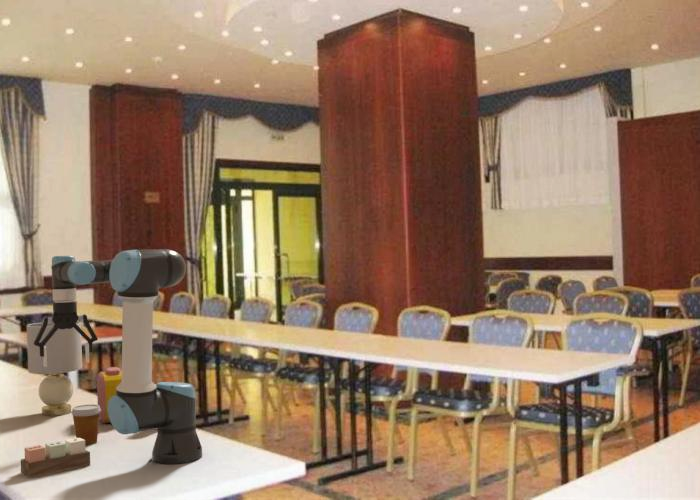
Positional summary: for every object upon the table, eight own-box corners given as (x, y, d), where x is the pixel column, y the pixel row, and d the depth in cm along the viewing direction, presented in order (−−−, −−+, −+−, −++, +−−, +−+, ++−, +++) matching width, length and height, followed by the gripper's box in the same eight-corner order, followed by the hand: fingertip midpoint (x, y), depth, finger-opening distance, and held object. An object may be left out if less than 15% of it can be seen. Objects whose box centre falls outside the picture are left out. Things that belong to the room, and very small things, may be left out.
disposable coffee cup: (92, 447, 259) (91, 410, 258) (66, 446, 261) (65, 410, 260) (107, 439, 268) (106, 404, 268) (81, 438, 270) (80, 403, 270)
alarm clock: (132, 423, 290) (131, 371, 290) (101, 427, 286) (99, 373, 286) (127, 413, 308) (125, 364, 307) (97, 416, 304) (96, 366, 303)
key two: (65, 458, 234) (65, 443, 234) (51, 462, 231) (50, 446, 231) (60, 456, 238) (59, 440, 237) (45, 458, 235) (45, 443, 235)
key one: (85, 454, 238) (85, 439, 238) (71, 457, 235) (70, 442, 235) (79, 452, 241) (79, 437, 241) (65, 454, 239) (65, 439, 239)
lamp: (67, 419, 300) (64, 326, 300) (18, 418, 303) (16, 326, 303) (92, 407, 320) (90, 320, 319) (46, 407, 323) (44, 321, 323)
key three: (45, 463, 230) (45, 447, 230) (30, 466, 227) (29, 450, 227) (40, 460, 234) (39, 444, 234) (24, 463, 231) (24, 447, 231)
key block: (90, 465, 238) (89, 451, 238) (29, 478, 226) (28, 464, 226) (81, 460, 243) (80, 447, 243) (20, 472, 231) (20, 459, 231)
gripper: (100, 298, 275) (102, 359, 275) (23, 303, 263) (25, 366, 264) (104, 299, 268) (106, 361, 269) (26, 304, 257) (28, 369, 257)
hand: (66, 364), depth 266 cm, fingers open, 13 cm apart
